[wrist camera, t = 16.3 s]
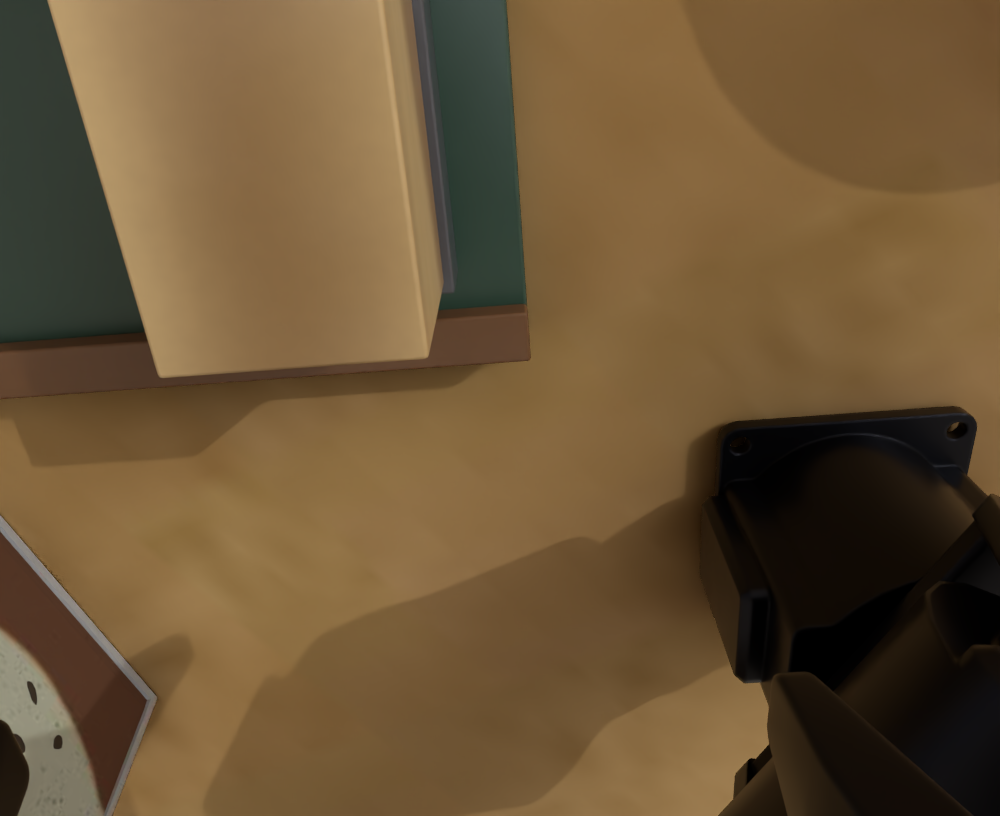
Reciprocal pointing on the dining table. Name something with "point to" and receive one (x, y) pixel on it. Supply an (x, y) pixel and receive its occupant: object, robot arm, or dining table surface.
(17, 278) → the slate board
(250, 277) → the eraser
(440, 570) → the dining table surface
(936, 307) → the dining table surface
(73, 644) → the food container
